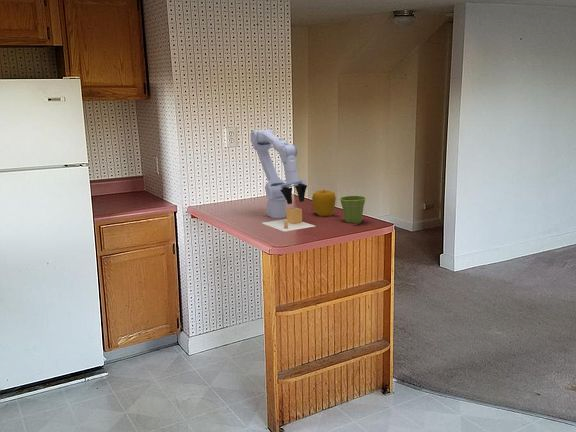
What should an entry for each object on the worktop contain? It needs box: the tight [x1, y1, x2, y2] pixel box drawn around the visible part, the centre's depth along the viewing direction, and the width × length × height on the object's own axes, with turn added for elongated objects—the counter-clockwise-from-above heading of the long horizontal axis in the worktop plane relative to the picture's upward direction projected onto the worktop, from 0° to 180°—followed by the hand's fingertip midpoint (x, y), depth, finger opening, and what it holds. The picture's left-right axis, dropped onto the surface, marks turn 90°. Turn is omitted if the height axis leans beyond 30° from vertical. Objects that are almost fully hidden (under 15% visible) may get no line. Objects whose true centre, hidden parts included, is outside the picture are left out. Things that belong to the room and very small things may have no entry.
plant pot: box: [339, 195, 367, 225], centre depth 255 cm, size 12×12×11 cm
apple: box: [311, 189, 337, 217], centre depth 269 cm, size 11×11×13 cm
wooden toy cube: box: [286, 206, 303, 224], centre depth 255 cm, size 5×5×6 cm
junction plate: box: [261, 218, 315, 232], centre depth 252 cm, size 20×16×4 cm
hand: (295, 202), depth 252 cm, fingers open, 7 cm apart
